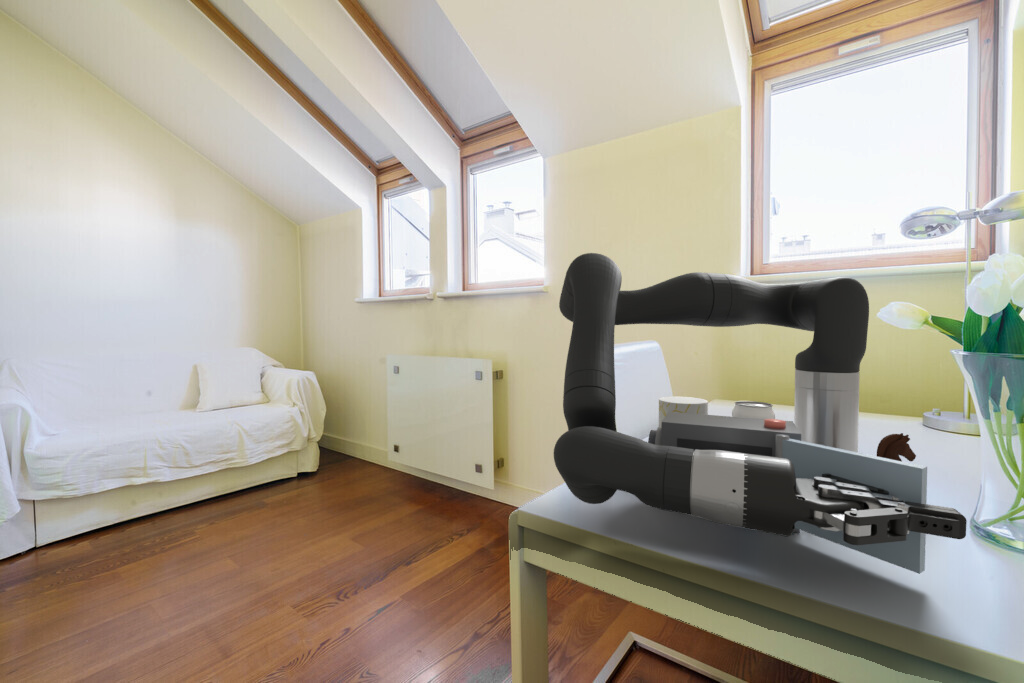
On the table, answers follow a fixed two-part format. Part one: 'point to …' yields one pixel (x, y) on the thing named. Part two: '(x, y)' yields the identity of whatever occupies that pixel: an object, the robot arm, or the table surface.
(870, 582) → the table surface
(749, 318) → the robot arm
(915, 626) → the table surface
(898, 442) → the chess piece
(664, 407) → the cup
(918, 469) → the side door
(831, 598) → the table surface
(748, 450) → the grey box
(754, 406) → the can
